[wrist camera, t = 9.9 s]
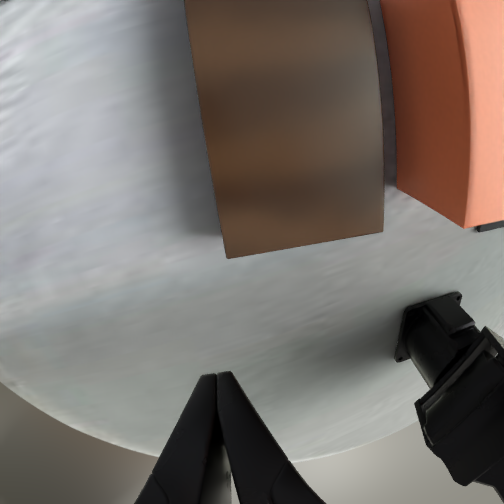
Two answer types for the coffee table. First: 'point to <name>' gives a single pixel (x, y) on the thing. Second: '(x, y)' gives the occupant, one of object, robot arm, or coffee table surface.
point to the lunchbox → (449, 104)
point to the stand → (289, 119)
